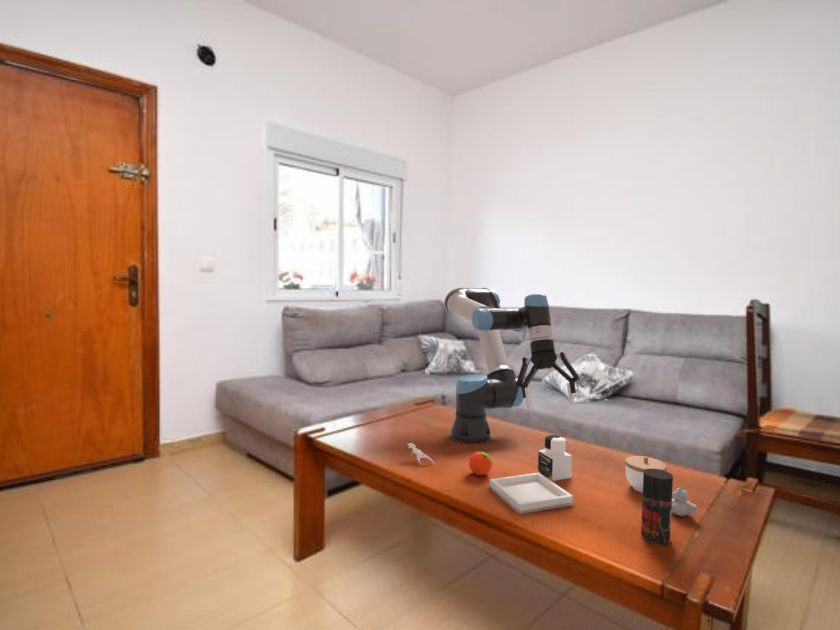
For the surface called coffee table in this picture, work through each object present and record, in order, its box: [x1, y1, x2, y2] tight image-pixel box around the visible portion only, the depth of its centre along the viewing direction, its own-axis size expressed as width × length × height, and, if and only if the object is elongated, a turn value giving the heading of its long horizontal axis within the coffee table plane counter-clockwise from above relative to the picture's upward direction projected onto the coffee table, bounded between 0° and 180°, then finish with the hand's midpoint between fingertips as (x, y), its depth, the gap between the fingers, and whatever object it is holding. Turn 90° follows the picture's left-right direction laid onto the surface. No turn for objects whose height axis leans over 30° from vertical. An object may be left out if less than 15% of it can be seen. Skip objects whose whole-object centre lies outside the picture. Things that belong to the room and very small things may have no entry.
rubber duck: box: [671, 484, 698, 517], centre depth 116 cm, size 5×7×8 cm
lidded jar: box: [624, 455, 668, 494], centre depth 131 cm, size 11×11×9 cm
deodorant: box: [640, 469, 674, 546], centre depth 105 cm, size 6×6×15 cm
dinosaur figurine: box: [407, 442, 435, 464], centre depth 149 cm, size 15×12×6 cm
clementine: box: [468, 450, 493, 476], centre depth 140 cm, size 8×7×7 cm
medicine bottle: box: [537, 434, 573, 482], centre depth 140 cm, size 7×7×12 cm
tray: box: [489, 472, 574, 515], centre depth 126 cm, size 16×16×2 cm
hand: (550, 406), depth 146 cm, fingers open, 13 cm apart
